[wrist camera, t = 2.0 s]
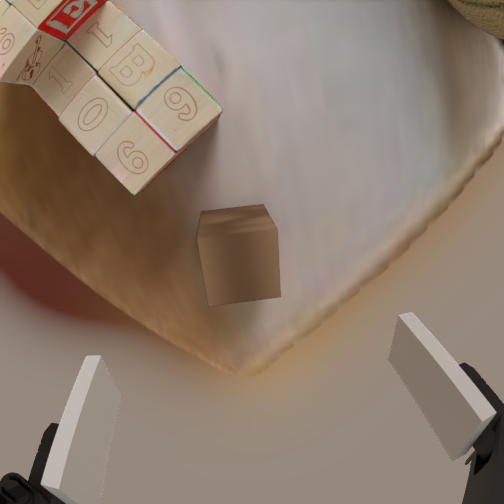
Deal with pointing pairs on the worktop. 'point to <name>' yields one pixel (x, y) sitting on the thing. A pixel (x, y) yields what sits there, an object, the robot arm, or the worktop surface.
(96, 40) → the stack of blocks
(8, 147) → the worktop surface
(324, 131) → the worktop surface
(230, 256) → the walnut block
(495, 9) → the cantaloupe
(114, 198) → the worktop surface
